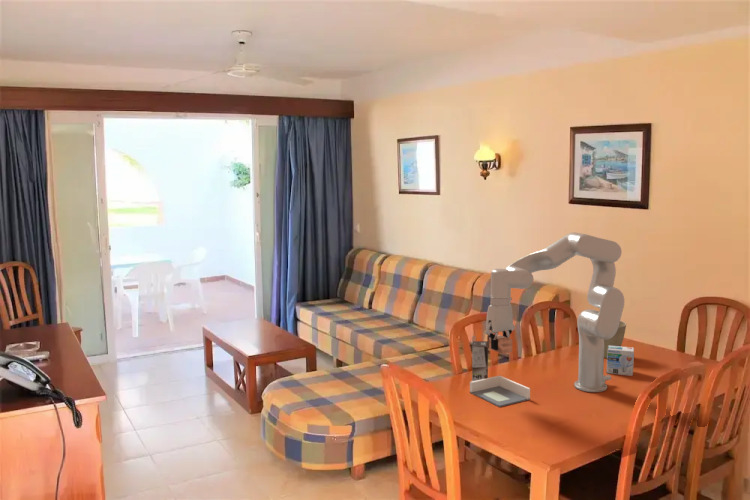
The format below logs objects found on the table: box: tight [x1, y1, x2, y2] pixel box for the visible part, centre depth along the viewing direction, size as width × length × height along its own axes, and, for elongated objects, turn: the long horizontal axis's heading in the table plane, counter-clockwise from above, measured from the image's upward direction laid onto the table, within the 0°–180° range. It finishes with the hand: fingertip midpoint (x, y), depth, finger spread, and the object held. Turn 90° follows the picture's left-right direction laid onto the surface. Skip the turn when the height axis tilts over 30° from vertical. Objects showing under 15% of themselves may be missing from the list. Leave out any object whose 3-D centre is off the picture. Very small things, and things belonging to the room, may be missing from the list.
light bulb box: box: [606, 345, 635, 377], centre depth 276 cm, size 11×7×11 cm, turn 68°
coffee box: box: [471, 340, 489, 381], centre depth 268 cm, size 9×6×16 cm
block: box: [486, 334, 513, 355], centre depth 246 cm, size 9×4×5 cm, turn 31°
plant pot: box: [603, 320, 627, 359], centre depth 299 cm, size 15×15×16 cm
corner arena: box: [469, 374, 531, 408], centre depth 251 cm, size 15×18×4 cm
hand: (499, 347), depth 247 cm, fingers closed on block, 4 cm apart
